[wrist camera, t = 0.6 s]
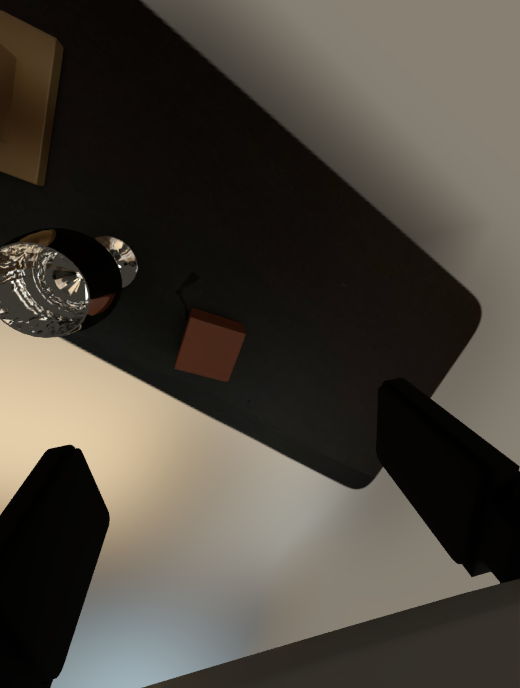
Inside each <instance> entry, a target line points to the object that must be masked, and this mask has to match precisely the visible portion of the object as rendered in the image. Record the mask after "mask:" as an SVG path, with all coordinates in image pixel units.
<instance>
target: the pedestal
mask: <svg viewBox="0 0 520 688" xmlns="http://www.w3.org/2000/svg"><path fill="white" fill-rule="evenodd" d="M63 51H64V48H63V46H62V45H61V44H60V42H59V41H58V40H57V39H56V38H55V37H53V36H51V35H49V34H47V33H45V32H43V31H41V30H39V29H37V28H35V27H33V26H32V25H30V24H28V23H26V22H24V21H22V20H20V19H18V18H16V17H14V16H12V15H10V14H8V13H6V12H4V11H2V10H0V171H1V172H4V173H6V174H9V175H11V176H14V177H17V178H19V179H22V180H25V181H27V182H30V183H33V184H35V185H39V186H44V184H45V177H46V170H47V163H48V156H49V149H50V142H51V135H52V128H53V121H54V114H55V107H56V100H57V93H58V86H59V79H60V72H61V65H62V58H63Z"/></svg>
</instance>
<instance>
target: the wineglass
mask: <svg viewBox="0 0 520 688" xmlns="http://www.w3.org/2000/svg"><path fill="white" fill-rule="evenodd" d="M137 272H138V262H137V259H136V256H135V254H134V252H133V250H132V249H131V248H130V247H129V246H128V244H126V243H125V242H124V241H122V240H120V239H118V238H116V237H112V236H98V237H95V238H92V237H90V236H88V235H86V234H84V233H81V232H78V231H74V230H70V229H65V228H46V229H39V230H35V231H32V232H29V233H26V234H23V235H20V236H18V237H16V238H14V239H12V240H11V241H9V242H7V243H6V244H4V245H3V246H1V247H0V319H1V320H2V321H3V322H4V323H6V324H7V325H9V326H10V327H12V328H13V329H15V330H17V331H19V332H21V333H24V334H27V335H31V336H34V337H43V338H50V337H60V336H64V335H69V334H73V333H77V332H79V331H82V330H85V329H88V328H90V327H92V326H94V325H96V324H98V323H99V322H101V321H102V320H103V319H105V318H106V317H107V316H108V315H109V314H110V313H111V312H112V311H113V310H114V308H115V307H116V305H117V303H118V301H119V298H120V296H121V291H122V288H125V287H127V286H128V285H130V284H131V283H132V282H133V280H134V279H135V277H136V275H137Z"/></svg>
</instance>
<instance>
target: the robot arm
mask: <svg viewBox="0 0 520 688" xmlns="http://www.w3.org/2000/svg"><path fill="white" fill-rule="evenodd" d="M376 453H377V457H378V459H379V461H380V463H381V464H382V465H383V467H384V468H385V469H386V471H387V472H388V473H389V475H390V476H391V477H392V479H393V480H394V481H395V483H396V484H397V486H398V487H399V488H400V489H401V491H402V492H403V493H404V495H405V496H406V498H407V499H408V500H409V502H410V503H411V504H412V506H413V507H414V508H415V510H416V511H417V512H418V514H419V515H420V516H421V518H422V519H423V521H424V522H425V523H426V524H427V526H428V527H429V529H430V530H431V531H432V533H433V534H434V535H435V537H436V538H437V539H438V541H439V542H440V543H441V545H442V546H443V547H444V549H445V550H446V551H447V553H448V554H449V555H450V557H451V558H452V559H453V560H454V561H455V562H456V563H458V564H462V565H463V566H464V567H465V569H466V570H467V571H468V573H469V574H470V575H471V577H474V576H477V575H481V574H484V573H488V572H492V573H493V574H494V575H495V576H496V578H497V579H498V580H499V581H500V584H498V585H495V586H490V587H487V588H483V589H479V590H475V591H471V592H468V593H464V594H460V595H456V596H453V597H450V598H446V599H443V600H439V601H436V602H432V603H429V604H425V605H422V606H418V607H415V608H411V609H408V610H404V611H401V612H397V613H394V614H391V615H387V616H384V617H380V618H377V619H373V620H370V621H366V622H363V623H359V624H356V625H353V626H349V627H346V628H342V629H339V630H335V631H332V632H328V633H325V634H322V635H318V636H315V637H312V638H308V639H305V640H301V641H298V642H294V643H291V644H288V645H284V646H281V647H277V648H274V649H271V650H267V651H264V652H261V653H257V654H254V655H250V656H247V657H243V658H240V659H237V660H233V661H230V662H227V663H223V664H220V665H216V666H213V667H210V668H206V669H203V670H200V671H196V672H193V673H190V674H186V675H183V676H180V677H176V678H173V679H170V680H167V681H163V682H160V683H157V684H153V685H150V686H147V687H143V688H520V472H519V471H518V470H519V466H518V465H517V464H516V463H514V462H513V461H512V460H510V459H509V458H508V457H506V456H505V455H504V454H503V453H501V452H500V451H499V450H497V449H496V448H495V447H493V446H492V445H491V444H489V443H488V442H487V441H485V440H484V439H482V438H481V437H480V436H479V435H477V434H476V433H475V432H474V431H472V430H471V429H470V428H468V427H467V426H466V425H464V424H463V423H462V422H460V421H459V420H458V419H457V418H455V417H454V416H453V415H451V414H450V413H449V412H447V411H446V410H444V409H443V408H442V407H441V406H439V405H438V404H437V403H436V402H434V401H433V400H432V399H430V398H429V397H428V396H426V395H425V394H424V393H422V392H421V391H420V390H418V389H417V388H416V387H414V386H413V385H412V384H411V383H409V382H408V381H407V380H405V379H404V378H397V379H392V380H387V381H384V382H383V384H382V386H380V387H379V389H378V412H377V442H376ZM109 521H110V517H109V512H108V509H107V507H106V505H105V503H104V500H103V498H102V496H101V494H100V491H99V489H98V487H97V485H96V483H95V480H94V478H93V476H92V473H91V471H90V469H89V467H88V464H87V462H86V460H85V458H84V455H83V453H82V451H81V450H80V449H79V448H76V449H75V447H74V446H72V445H66V446H61V447H57V448H52V449H48V450H47V451H46V452H45V453H44V454H43V456H42V457H41V459H40V460H39V462H38V463H37V465H36V466H35V467H34V469H33V470H32V471H31V473H30V474H29V476H28V477H27V478H26V480H25V481H24V483H23V484H22V486H21V487H20V488H19V490H18V491H17V492H16V494H15V495H14V497H13V498H12V499H11V501H10V502H9V504H8V505H7V507H6V508H5V509H4V511H3V512H2V514H1V515H0V688H50V687H51V684H52V681H53V679H55V678H57V677H58V676H59V674H60V672H61V671H62V668H63V665H64V662H65V660H66V656H67V653H68V650H69V647H70V644H71V641H72V638H73V635H74V632H75V628H76V625H77V622H78V619H79V616H80V613H81V610H82V607H83V604H84V601H85V598H86V594H87V591H88V588H89V585H90V582H91V579H92V576H93V573H94V570H95V567H96V564H97V561H98V557H99V554H100V551H101V548H102V545H103V542H104V539H105V535H106V533H107V529H108V526H109Z"/></svg>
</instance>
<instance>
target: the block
mask: <svg viewBox="0 0 520 688" xmlns="http://www.w3.org/2000/svg"><path fill="white" fill-rule="evenodd" d="M245 336H246V333H245V330H244V328H243V325H242V323H239V322H236V321H233V320H230V319H227V318H223V317H220V316H217V315H214V314H211V313H208V312H204V311H201V310H198V309H195V308H192V309H191V312H190V315H189V319H188V322H187V325H186V328H185V331H184V334H183V338H182V341H181V344H180V347H179V350H178V354H177V358H176V362H175V367H174V369H178V370H182V371H185V372H189V373H193V374H197V375H201V376H205V377H209V378H213V379H217V380H221V381H225V382H228V380H229V378H230V375H231V373H232V370H233V367H234V365H235V362H236V359H237V357H238V354H239V352H240V349H241V346H242V344H243V341H244V338H245Z"/></svg>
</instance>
